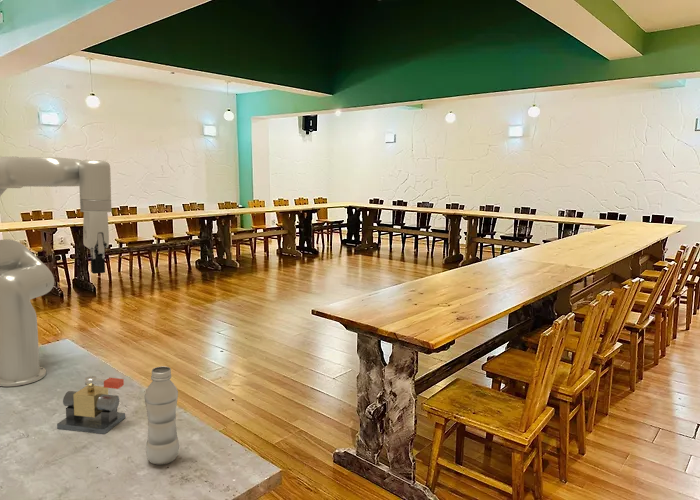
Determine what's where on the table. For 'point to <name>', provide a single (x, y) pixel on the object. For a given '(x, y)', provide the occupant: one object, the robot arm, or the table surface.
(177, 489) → the table surface
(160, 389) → the plastic bottle
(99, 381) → the lever
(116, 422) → the valve
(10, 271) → the robot arm
